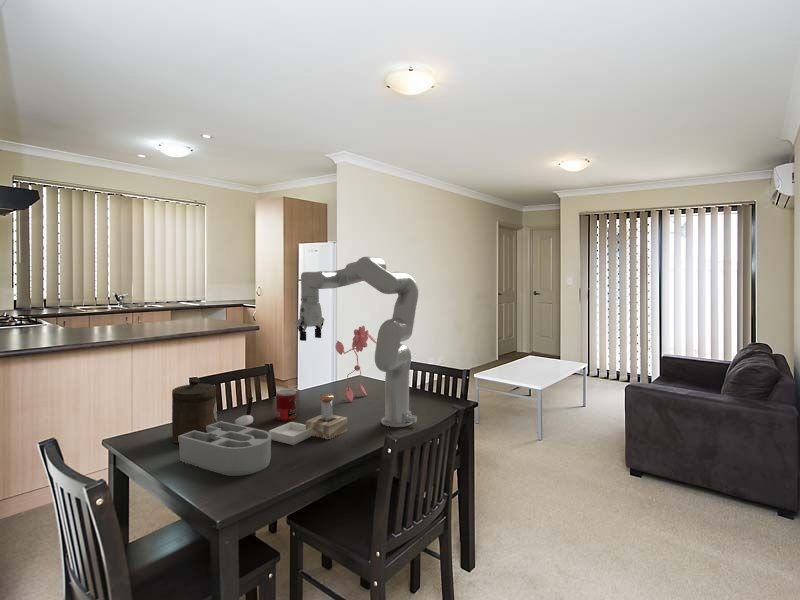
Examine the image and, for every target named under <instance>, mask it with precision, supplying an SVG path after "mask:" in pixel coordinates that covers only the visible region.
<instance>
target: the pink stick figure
mask: <svg viewBox="0 0 800 600" xmlns="http://www.w3.org/2000/svg"><path fill="white" fill-rule="evenodd" d="M353 334H354V337H352V344H351V347H352V348H350V349H348V350H347V351H345V347H344V345H343V343H342V342H340V341H339V340H337V341H336V343H335V347H334V348H335V351H336V352H337V353H338V354H339V355H343V354H344V355H345V354H347V353H349V352H351V351H354V354H355V356H356V362H357V363H356V365H354V367H353V368H354V370H352V371H351V372H349V373H348V374H347V378H349V375H351V374H352V373H354V372H355V371H356V372H358V371H359V376H360V379H362V372H361V367H360V365H359V356H358V353H359V352H363V350H364V348H367V347H368V340H369V339H370V340H371V341H372V342H373V344H377V340H376V339H374V337H373V336H372V335H370V334H369V330H366V327H365V325H362V326H358V328H356V329H353ZM347 386H348V387H346V389H345V396H344V397H343V400H344V399H345V400H346V398H347V399H348V400H349V402H350V403H352V401H353V399H354V392H353V390H352V389H351V388H350V383H349V379H347ZM360 390H361V391H362V392H363V394H364V395H365V396H366V395H367V396H368V394H367V392H366V389H365V388H364V386H363V385H362V383H359V387H358V389H357V391H356V394H355V396H358V395H359V391H360Z"/></svg>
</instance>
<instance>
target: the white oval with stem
mask: <svg viewBox="0 0 800 600" xmlns="http://www.w3.org/2000/svg"><path fill="white" fill-rule="evenodd" d="M253 400H254V397H253V396H249V397H248V402H247V406H246V407H247V409H246V414H245V415H240V416H239V417H238V418H236V419H235V421H234V424H236V425H241V426H246V427H250V428H253V427H254V425H253V424H254V417H253V416H252V414H251V411H252V405H253V402H254V401H253Z"/></svg>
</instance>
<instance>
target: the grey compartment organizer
mask: <svg viewBox="0 0 800 600" xmlns="http://www.w3.org/2000/svg"><path fill="white" fill-rule="evenodd" d="M206 431H207V433H204V432H200V431H196V430H194V431H191V432H188V433H185V434H182V435H179V436H178V442H179V444H178V445H179V461H180V462H181V461H182V462H181V463H183V462H185V463H184V464H187V463H188V464H187V465H190V464H192V465H191V466H193V465H194V467H197V466H198V467H197V468H201V469H203V470H207V471H211V472H215V473H218V474H221V475H225V476H229V477H230V476H231V477H232V476H233V477H236V476H237V477H238V476H247V475H252V474H254V473H255V474H256V473H258V472H260V471H262V470H265V469H266V468H268V466H269V465H270V461H271V458H272V457H271V456H272V451H271V450H272V448H271V447H272V446H271V445H272V440H271V434H270V433H269V431H267V430H263V429H259V428H255V427H252V428H250V427H246V426H241V425H236V424H235V423H231V422H226V421H222V420H220V421H217V422H216V423H214V424H211V425H208V426H206Z"/></svg>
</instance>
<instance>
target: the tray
mask: <svg viewBox="0 0 800 600" xmlns="http://www.w3.org/2000/svg"><path fill="white" fill-rule="evenodd" d="M268 432H269V433H270V434H271V441H275V442H280V443H283V444H286V445H287V444H288V445H292V446H295V445H296V444H299V443H300V442H303V441H304V440H307V439H309V438H312V437H314V436H313V428H309V429H307V430H306V424H303V423H300V422H299V423H298V422H294V421H290V422H287V423H285V424H282V425H279V426H277V427H275V428H272V429H269V430H268ZM311 436H312V437H311Z"/></svg>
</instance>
